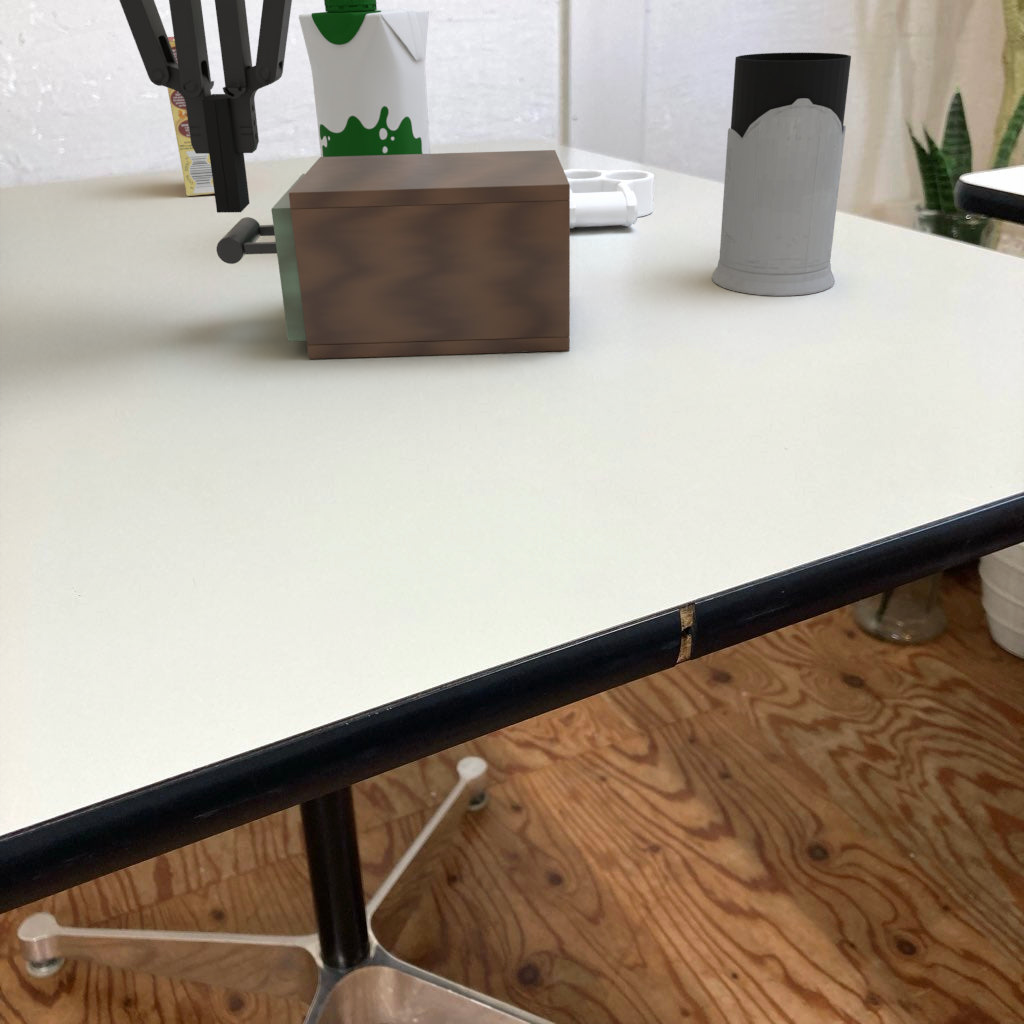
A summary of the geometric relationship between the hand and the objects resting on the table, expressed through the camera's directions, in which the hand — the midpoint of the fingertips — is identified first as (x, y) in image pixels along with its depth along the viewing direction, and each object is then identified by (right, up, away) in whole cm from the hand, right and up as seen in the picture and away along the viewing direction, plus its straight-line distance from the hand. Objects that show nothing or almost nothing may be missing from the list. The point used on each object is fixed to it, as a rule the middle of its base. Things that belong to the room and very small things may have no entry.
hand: (233, 207), depth 65 cm
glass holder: (+36, -1, +14) cm, 39 cm away
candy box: (-17, +17, +50) cm, 56 cm away
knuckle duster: (+22, +8, +32) cm, 40 cm away
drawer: (+9, -6, +3) cm, 11 cm away
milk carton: (+6, +5, +27) cm, 28 cm away
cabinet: (+13, -7, +4) cm, 15 cm away
